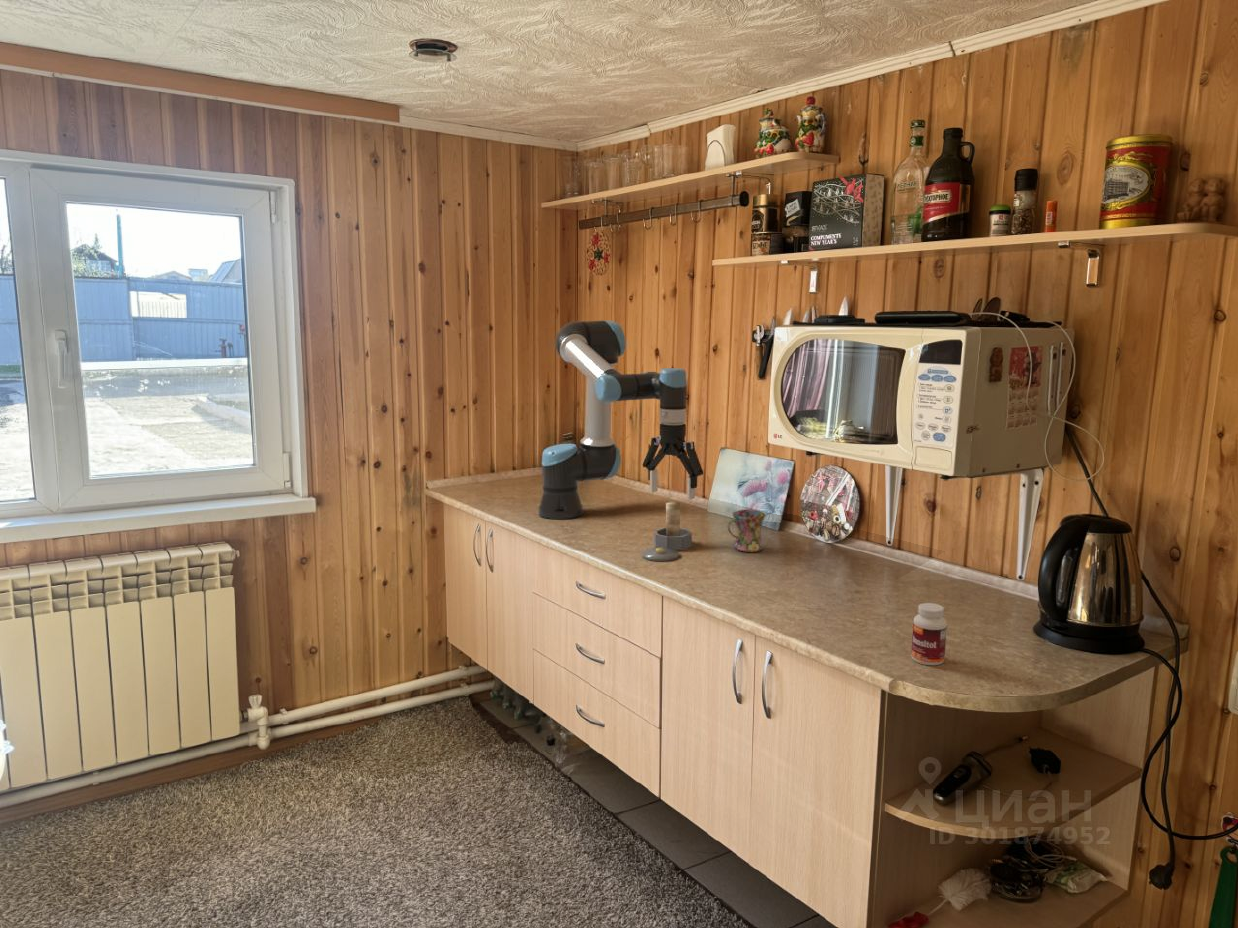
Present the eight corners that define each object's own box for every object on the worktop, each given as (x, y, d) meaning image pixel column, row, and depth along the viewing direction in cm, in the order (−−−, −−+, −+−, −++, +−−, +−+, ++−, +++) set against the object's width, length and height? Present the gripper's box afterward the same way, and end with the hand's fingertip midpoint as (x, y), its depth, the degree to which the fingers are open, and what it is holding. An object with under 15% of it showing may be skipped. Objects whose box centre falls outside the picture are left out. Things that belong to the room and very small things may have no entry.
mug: (751, 543, 253) (752, 508, 251) (771, 551, 245) (772, 514, 243) (718, 549, 247) (718, 513, 245) (737, 557, 239) (737, 520, 237)
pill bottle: (905, 660, 169) (908, 607, 167) (918, 651, 174) (921, 599, 172) (937, 669, 165) (940, 614, 163) (949, 659, 169) (952, 606, 167)
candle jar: (647, 546, 251) (647, 532, 251) (669, 538, 259) (669, 525, 258) (676, 552, 244) (676, 539, 244) (698, 544, 252) (698, 531, 252)
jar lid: (635, 557, 241) (635, 549, 240) (657, 549, 248) (657, 541, 248) (663, 563, 234) (663, 555, 234) (685, 555, 242) (685, 547, 241)
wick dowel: (663, 543, 251) (663, 503, 249) (671, 540, 254) (671, 501, 252) (674, 546, 249) (674, 505, 247) (682, 543, 252) (682, 503, 250)
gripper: (630, 420, 250) (630, 491, 255) (700, 429, 234) (699, 504, 239) (647, 417, 256) (646, 486, 260) (716, 425, 240) (714, 499, 244)
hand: (672, 495), depth 249 cm, fingers open, 13 cm apart
